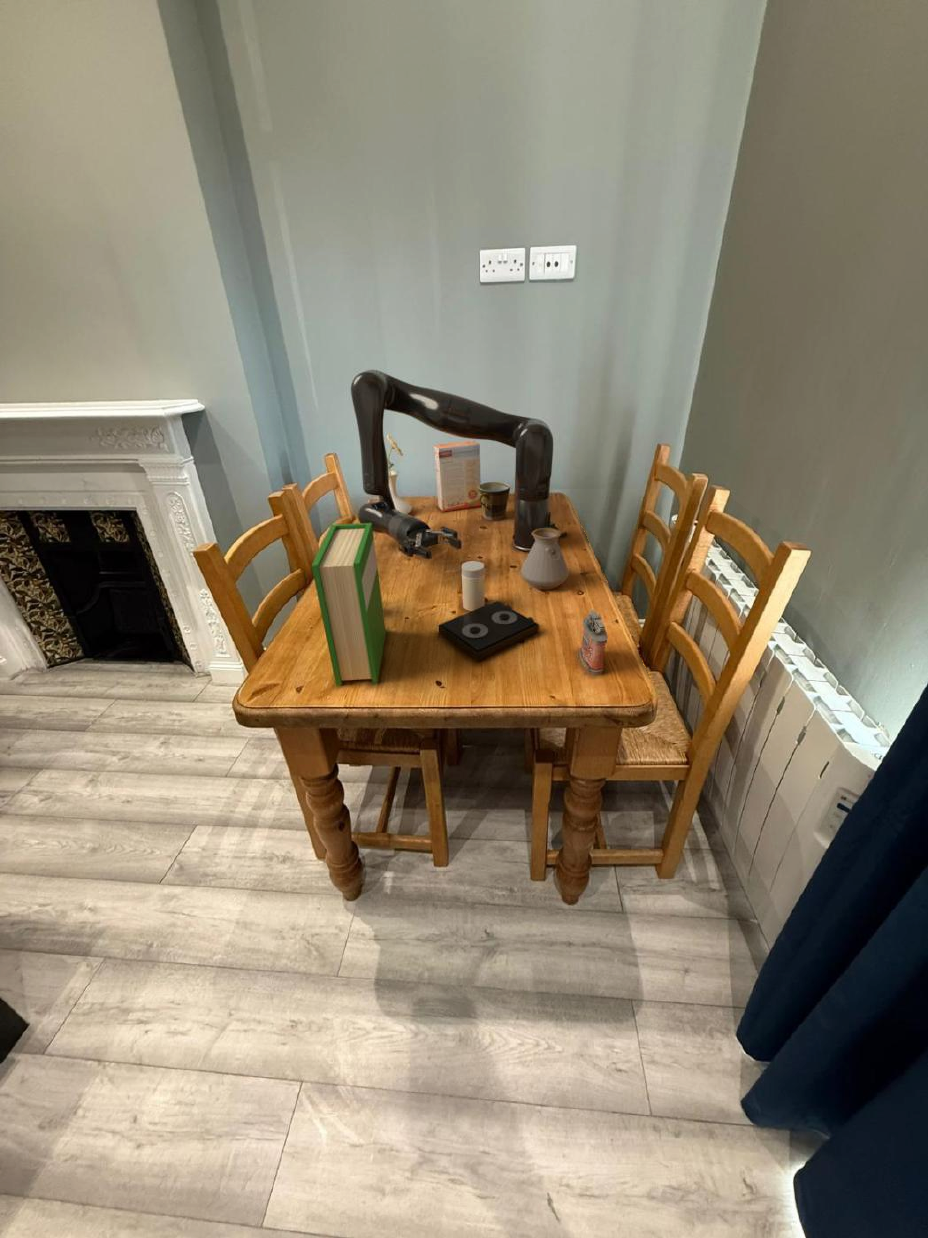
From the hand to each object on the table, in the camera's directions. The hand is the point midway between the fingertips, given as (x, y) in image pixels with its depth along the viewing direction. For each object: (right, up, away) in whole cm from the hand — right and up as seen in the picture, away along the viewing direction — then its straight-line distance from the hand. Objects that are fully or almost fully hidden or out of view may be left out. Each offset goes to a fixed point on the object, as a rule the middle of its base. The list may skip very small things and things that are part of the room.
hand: (445, 550), depth 117 cm
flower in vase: (-19, +19, +52) cm, 58 cm away
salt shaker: (+6, -13, -3) cm, 15 cm away
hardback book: (-16, -24, -18) cm, 34 cm away
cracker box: (+3, +22, +55) cm, 60 cm away
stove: (+9, -19, -13) cm, 25 cm away
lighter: (+28, -24, -22) cm, 43 cm away
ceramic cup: (+13, +16, +45) cm, 49 cm away
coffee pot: (+24, -10, +2) cm, 26 cm away
